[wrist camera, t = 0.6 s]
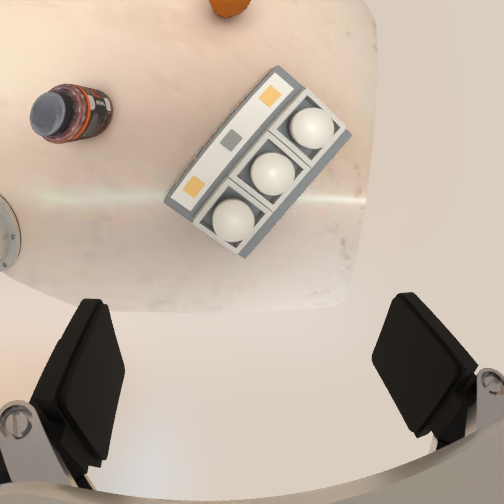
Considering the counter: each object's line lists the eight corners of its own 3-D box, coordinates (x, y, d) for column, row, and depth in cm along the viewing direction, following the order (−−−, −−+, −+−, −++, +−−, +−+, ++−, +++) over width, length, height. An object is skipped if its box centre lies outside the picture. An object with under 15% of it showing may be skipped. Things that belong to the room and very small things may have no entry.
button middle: (271, 198, 33) (275, 203, 31) (241, 174, 31) (243, 178, 29) (297, 168, 32) (303, 172, 30) (267, 143, 30) (272, 144, 28)
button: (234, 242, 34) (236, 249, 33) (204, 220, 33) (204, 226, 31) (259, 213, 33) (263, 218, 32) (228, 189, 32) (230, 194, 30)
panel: (242, 250, 39) (246, 265, 35) (166, 196, 34) (161, 206, 31) (343, 133, 34) (358, 136, 31) (273, 68, 30) (282, 62, 26)
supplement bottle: (118, 90, 28) (82, 80, 18) (109, 139, 30) (70, 149, 20) (74, 89, 27) (27, 82, 17) (67, 136, 29) (18, 146, 19)
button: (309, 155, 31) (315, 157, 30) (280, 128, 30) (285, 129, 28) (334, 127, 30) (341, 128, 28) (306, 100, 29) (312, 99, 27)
